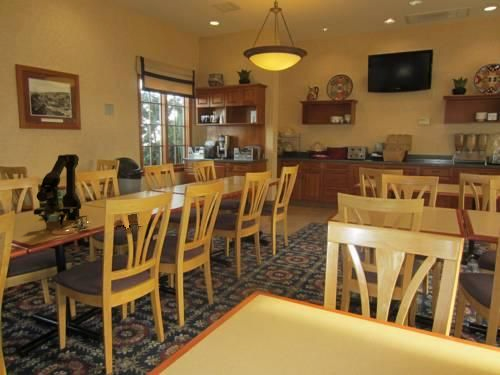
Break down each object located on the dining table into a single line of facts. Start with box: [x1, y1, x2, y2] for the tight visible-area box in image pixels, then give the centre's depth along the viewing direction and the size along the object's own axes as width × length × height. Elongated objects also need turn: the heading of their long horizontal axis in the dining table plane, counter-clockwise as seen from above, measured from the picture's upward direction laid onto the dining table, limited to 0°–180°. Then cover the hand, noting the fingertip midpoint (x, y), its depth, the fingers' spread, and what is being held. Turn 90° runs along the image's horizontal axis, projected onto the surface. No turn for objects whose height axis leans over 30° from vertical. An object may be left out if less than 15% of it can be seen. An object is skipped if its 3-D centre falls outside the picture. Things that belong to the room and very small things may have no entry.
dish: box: [51, 227, 76, 236], centre depth 200 cm, size 11×11×1 cm
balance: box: [71, 215, 92, 230], centre depth 209 cm, size 15×5×8 cm, turn 55°
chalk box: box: [48, 190, 64, 217], centre depth 241 cm, size 9×9×15 cm
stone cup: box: [114, 214, 139, 227], centre depth 215 cm, size 15×12×15 cm
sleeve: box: [45, 218, 64, 230], centre depth 209 cm, size 7×7×4 cm
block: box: [48, 215, 60, 222], centre depth 209 cm, size 4×4×7 cm
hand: (54, 225), depth 209 cm, fingers closed on sleeve, 7 cm apart
